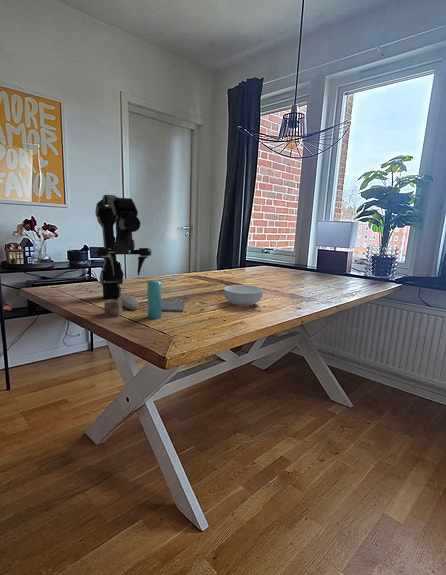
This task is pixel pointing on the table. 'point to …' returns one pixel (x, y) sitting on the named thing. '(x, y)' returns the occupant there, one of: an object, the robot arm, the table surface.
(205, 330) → the table surface
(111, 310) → the walnut block
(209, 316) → the table surface
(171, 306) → the charcoal mat
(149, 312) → the teal tall cylinder
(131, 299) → the decorative stone
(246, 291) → the cereal bowl
